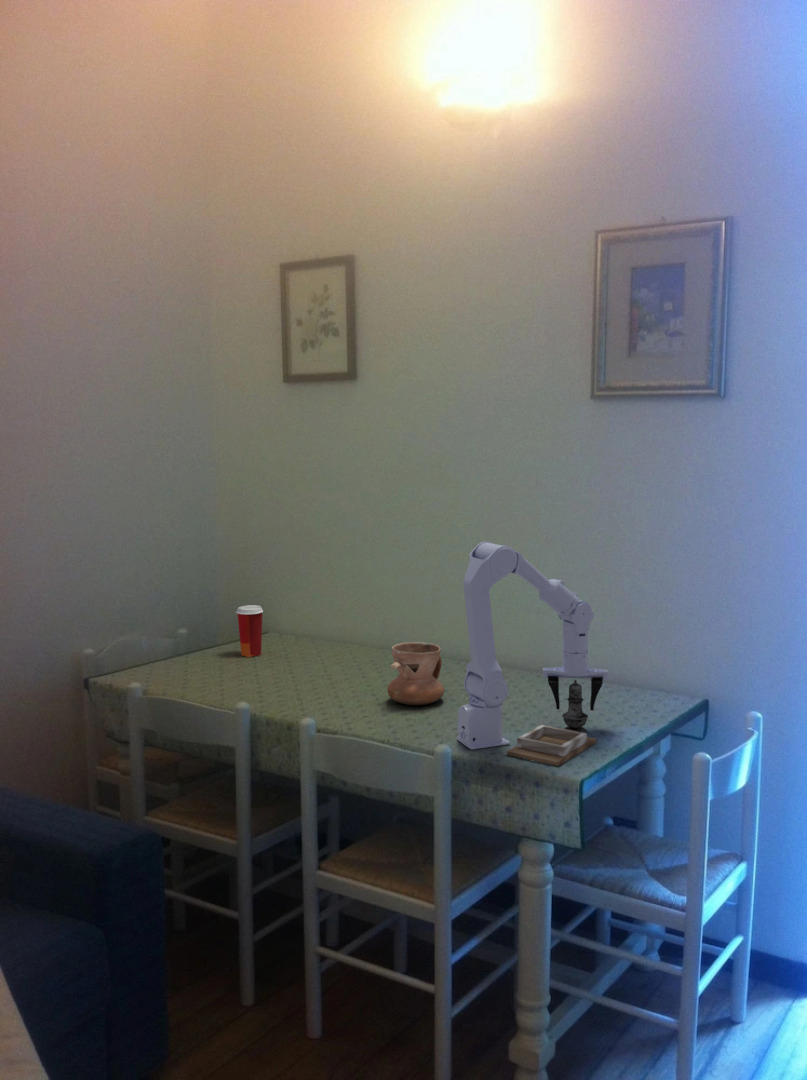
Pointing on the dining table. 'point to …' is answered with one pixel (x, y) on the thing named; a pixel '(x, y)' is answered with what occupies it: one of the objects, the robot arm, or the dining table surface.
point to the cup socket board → (551, 745)
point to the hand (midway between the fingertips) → (574, 708)
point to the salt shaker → (575, 710)
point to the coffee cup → (250, 629)
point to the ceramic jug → (416, 673)
